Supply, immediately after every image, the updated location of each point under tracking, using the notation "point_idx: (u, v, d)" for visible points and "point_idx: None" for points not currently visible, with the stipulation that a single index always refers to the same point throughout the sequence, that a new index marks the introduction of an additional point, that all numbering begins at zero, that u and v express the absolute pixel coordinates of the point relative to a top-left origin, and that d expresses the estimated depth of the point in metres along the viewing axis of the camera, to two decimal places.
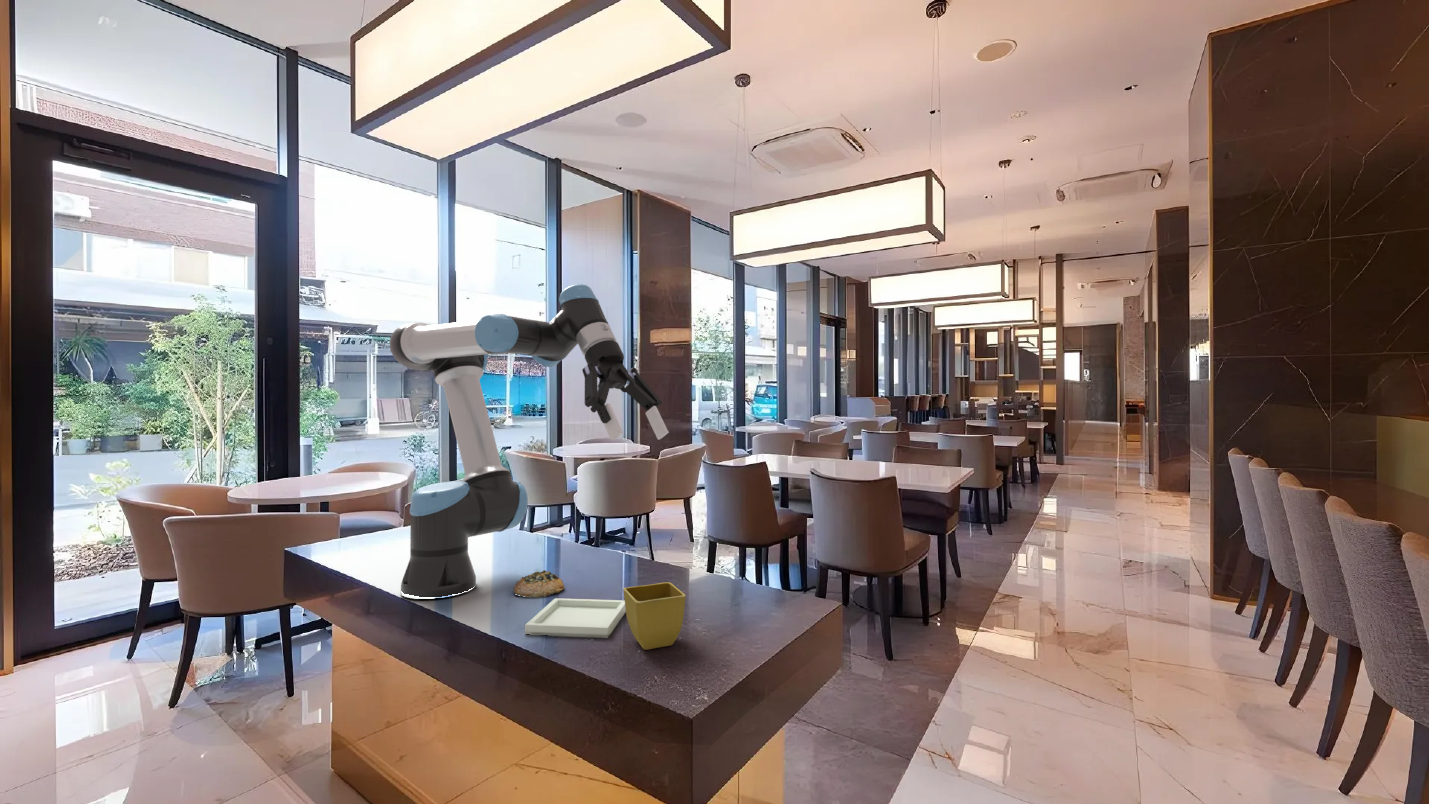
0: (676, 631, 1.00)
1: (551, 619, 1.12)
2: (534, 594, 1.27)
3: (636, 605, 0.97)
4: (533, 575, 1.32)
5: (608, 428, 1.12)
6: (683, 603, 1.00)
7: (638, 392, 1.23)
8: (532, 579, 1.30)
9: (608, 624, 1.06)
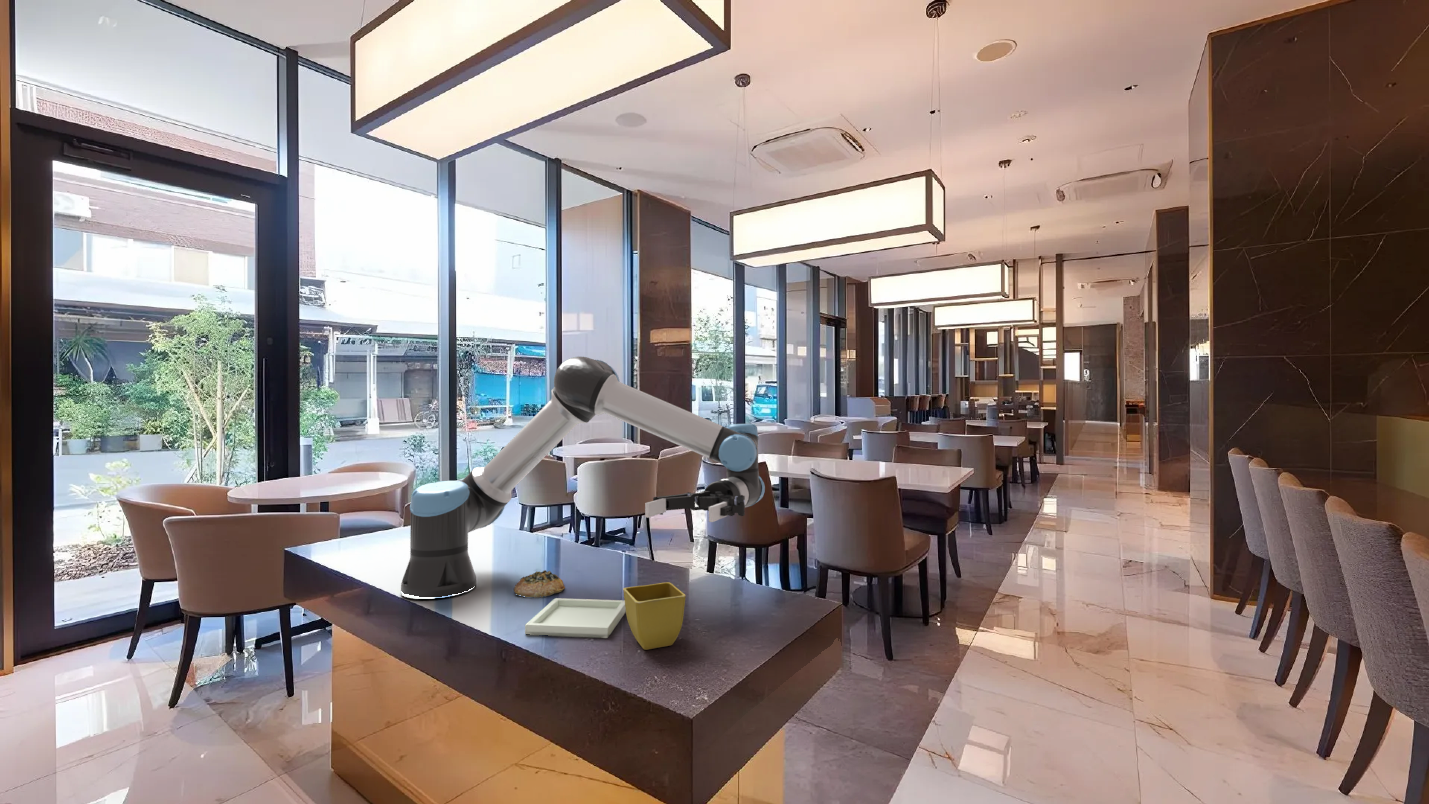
0: (676, 631, 1.00)
1: (551, 619, 1.12)
2: (534, 594, 1.27)
3: (636, 605, 0.97)
4: (533, 575, 1.32)
5: (717, 509, 1.10)
6: (683, 603, 1.00)
7: (683, 506, 1.22)
8: (532, 579, 1.30)
9: (608, 624, 1.06)
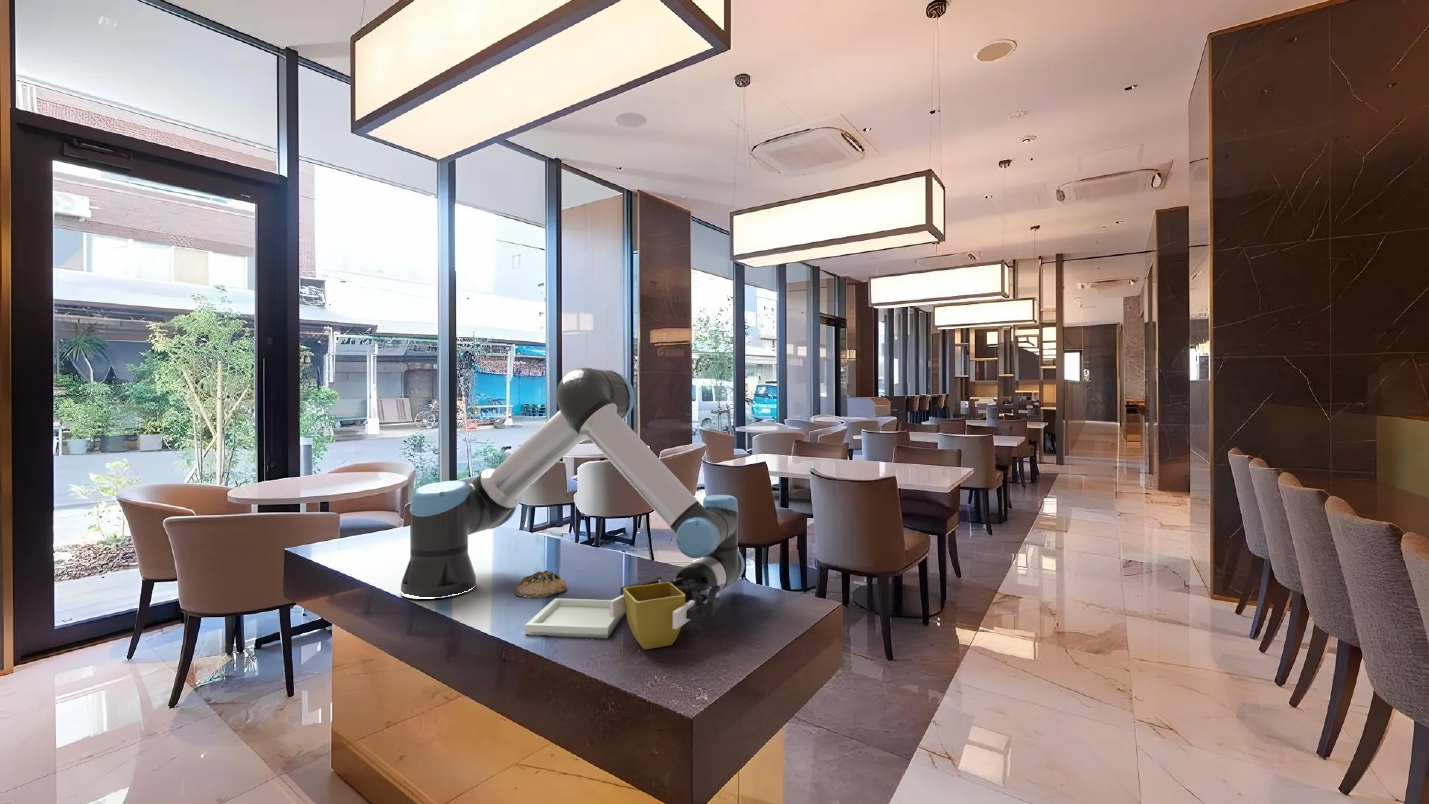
0: (676, 631, 1.00)
1: (551, 619, 1.12)
2: (536, 594, 1.27)
3: (636, 605, 0.97)
4: (535, 575, 1.32)
5: (683, 612, 0.98)
6: (683, 603, 1.00)
7: None
8: (534, 579, 1.30)
9: (608, 624, 1.06)
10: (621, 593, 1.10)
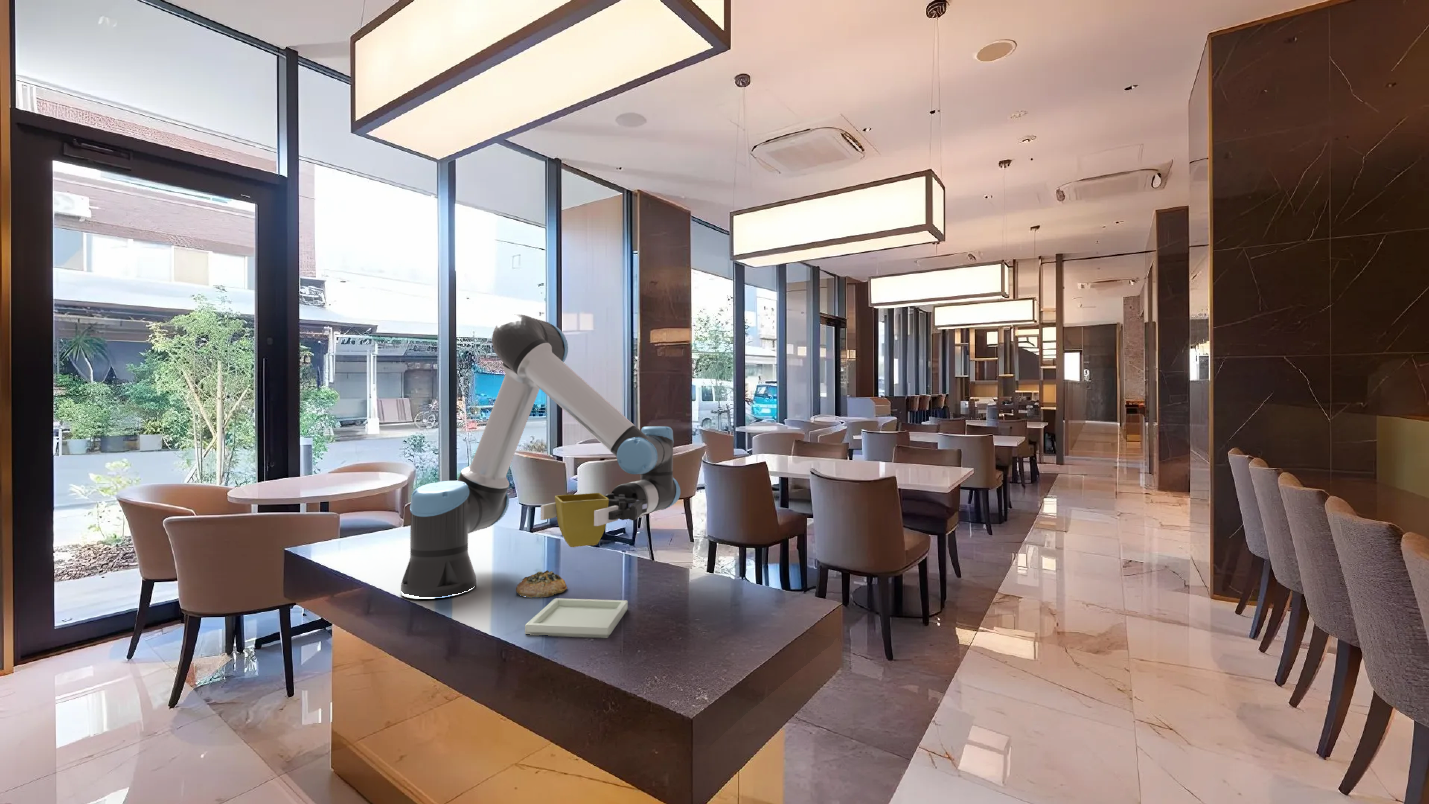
0: (600, 531, 1.11)
1: (551, 619, 1.12)
2: (536, 594, 1.27)
3: (561, 505, 1.08)
4: (536, 575, 1.32)
5: (605, 513, 1.09)
6: (606, 506, 1.10)
7: None
8: (535, 579, 1.30)
9: (608, 624, 1.06)
10: None
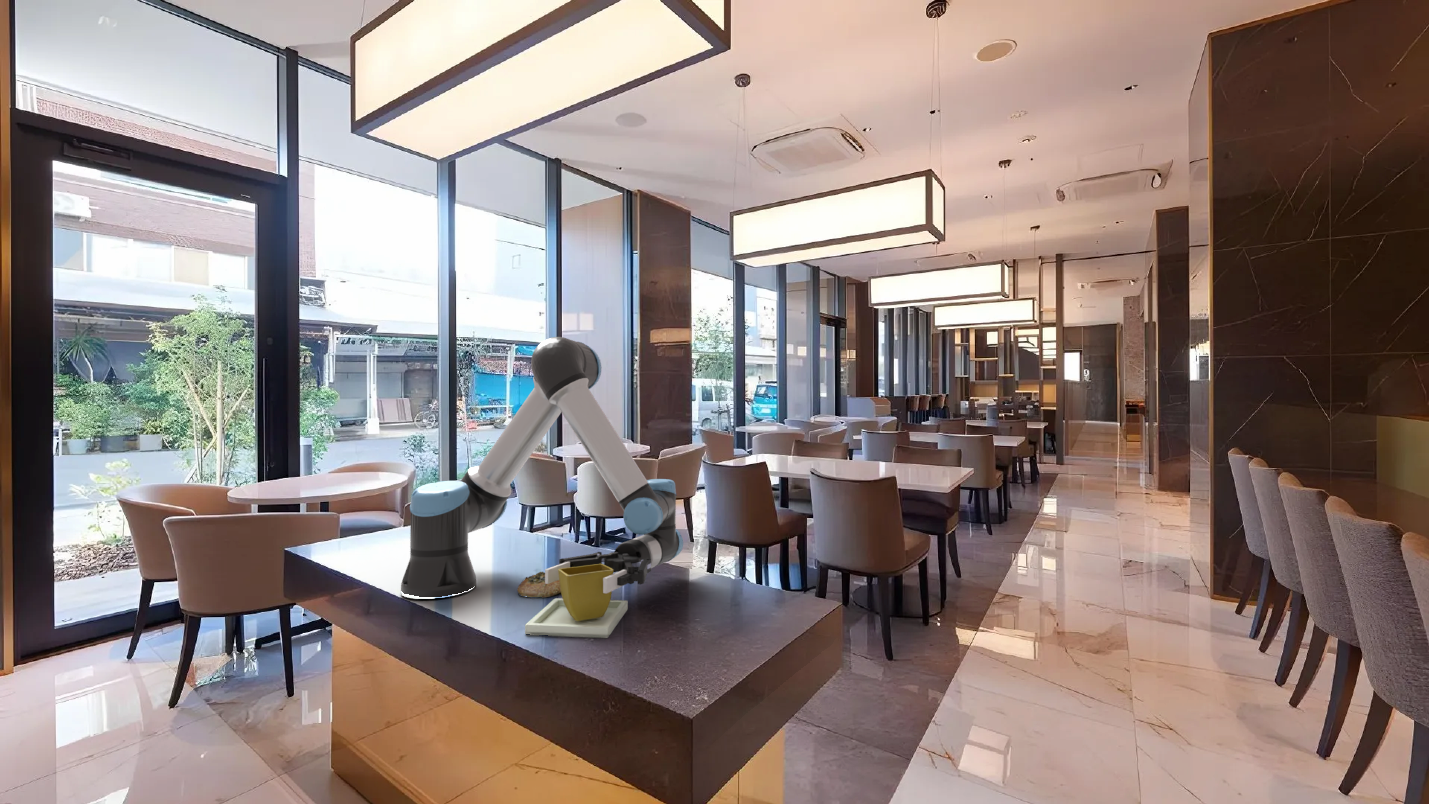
0: (605, 603, 1.11)
1: (551, 619, 1.12)
2: (538, 594, 1.27)
3: (567, 578, 1.08)
4: (537, 575, 1.32)
5: (613, 579, 1.10)
6: None
7: None
8: (536, 579, 1.30)
9: (608, 624, 1.06)
10: (559, 564, 1.22)
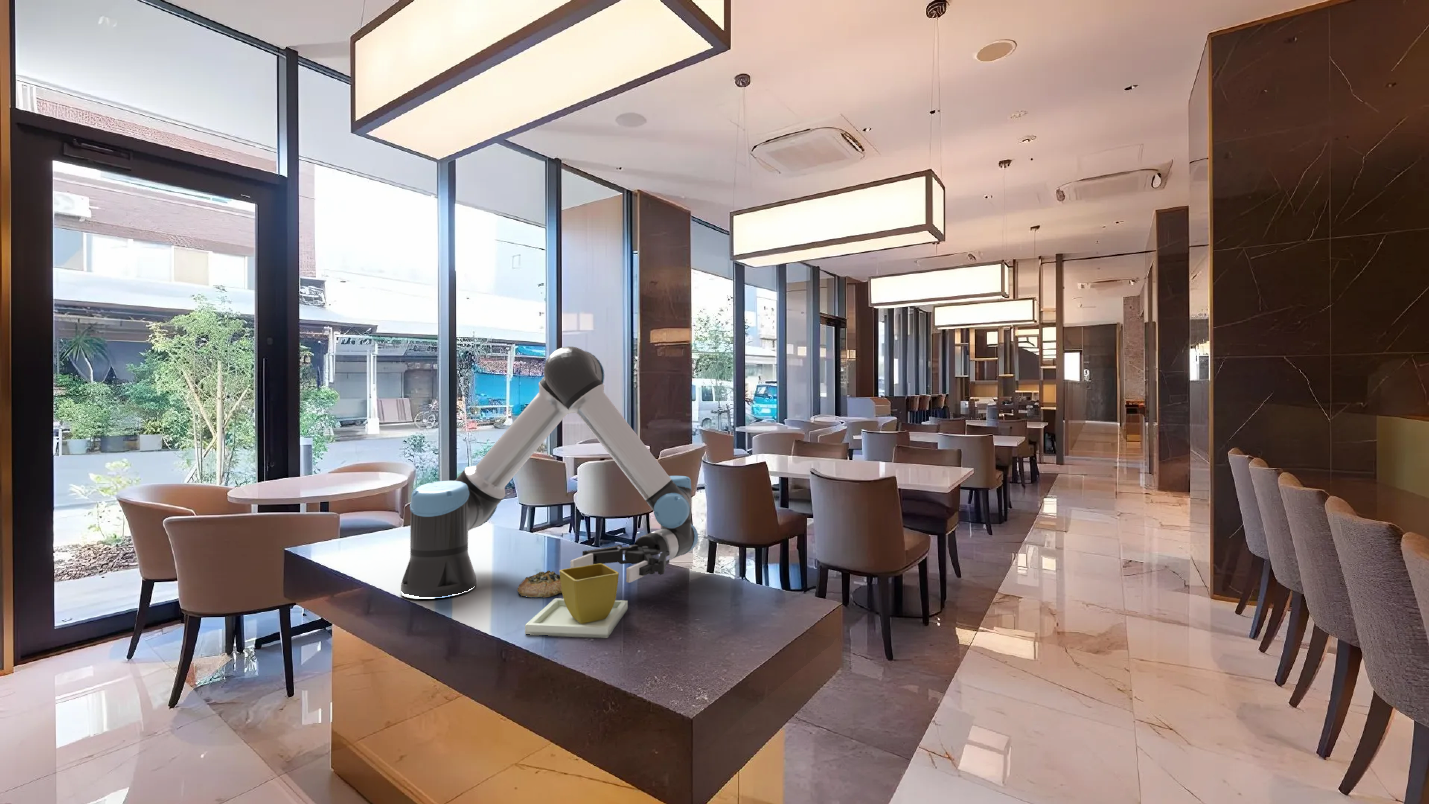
0: (610, 605, 1.11)
1: (551, 619, 1.12)
2: (538, 594, 1.27)
3: (574, 583, 1.07)
4: (537, 575, 1.32)
5: (636, 569, 1.17)
6: (616, 580, 1.11)
7: (611, 560, 1.29)
8: (536, 579, 1.30)
9: (608, 624, 1.06)
10: (583, 556, 1.29)
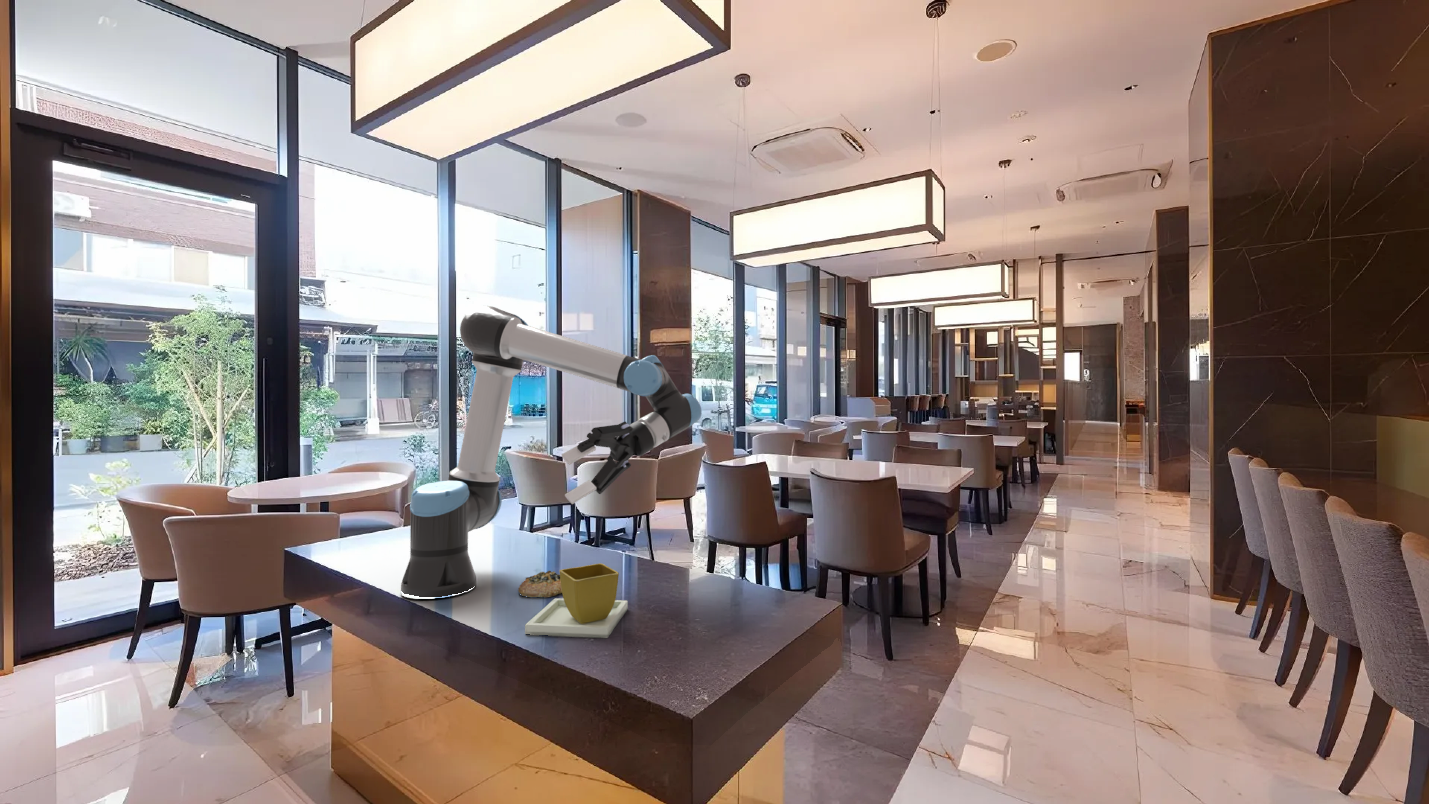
0: (610, 605, 1.11)
1: (551, 619, 1.12)
2: (539, 594, 1.27)
3: (574, 583, 1.07)
4: (538, 575, 1.32)
5: (573, 451, 1.22)
6: (616, 580, 1.11)
7: (608, 471, 1.34)
8: (537, 579, 1.30)
9: (608, 624, 1.06)
10: None
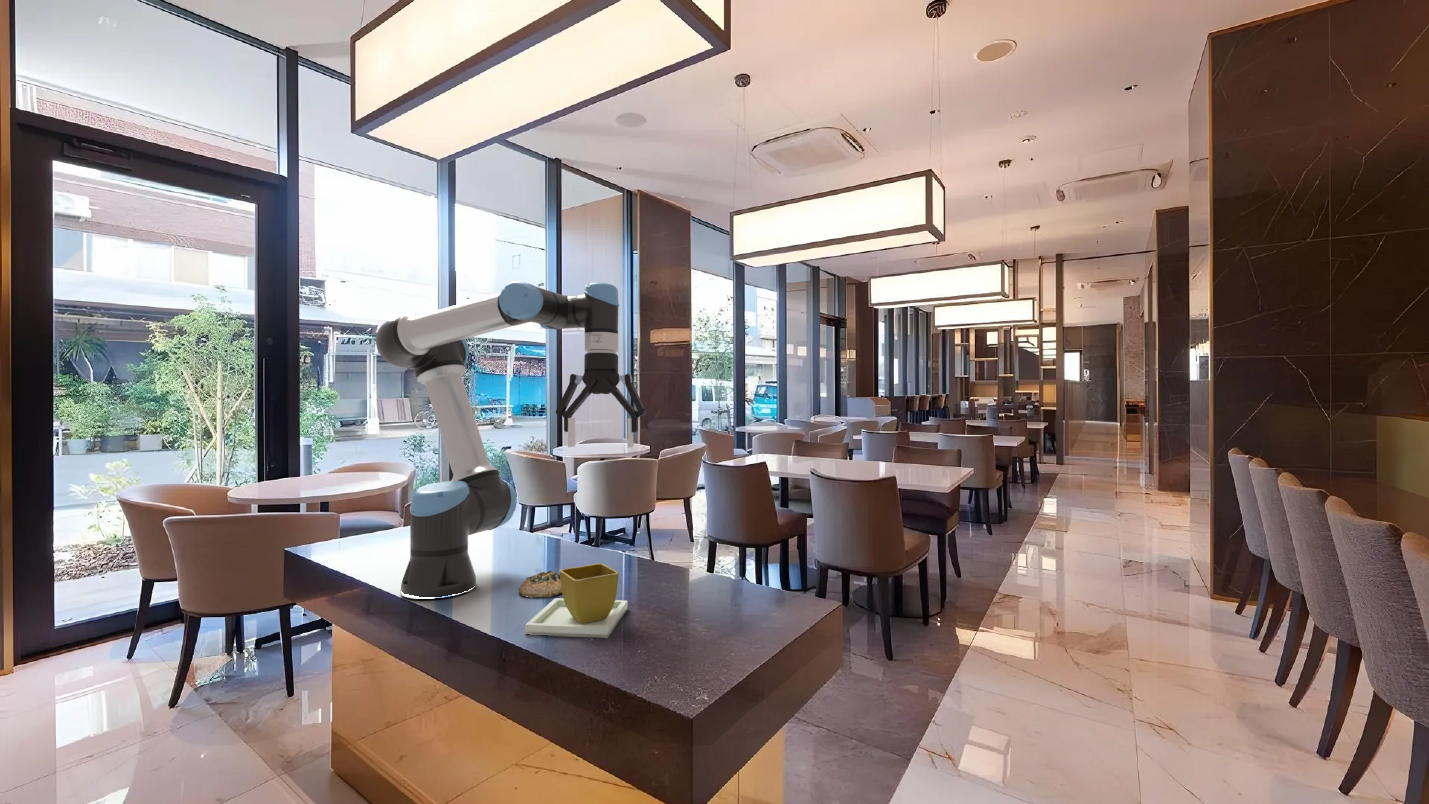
0: (610, 605, 1.11)
1: (551, 619, 1.12)
2: (539, 594, 1.27)
3: (574, 583, 1.07)
4: (538, 575, 1.32)
5: None
6: (616, 580, 1.11)
7: None
8: (537, 579, 1.30)
9: (608, 624, 1.06)
10: (643, 414, 1.34)
